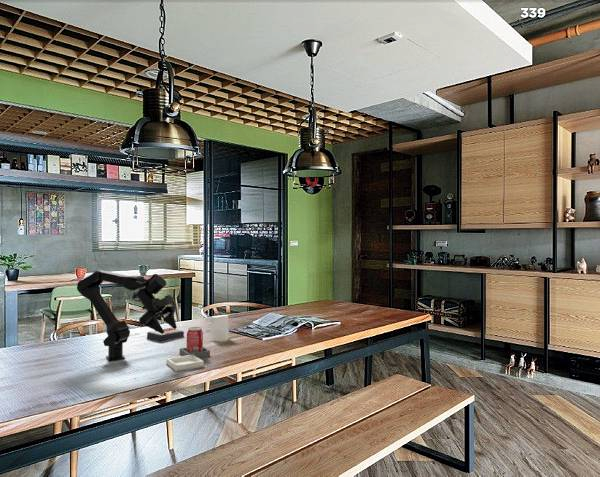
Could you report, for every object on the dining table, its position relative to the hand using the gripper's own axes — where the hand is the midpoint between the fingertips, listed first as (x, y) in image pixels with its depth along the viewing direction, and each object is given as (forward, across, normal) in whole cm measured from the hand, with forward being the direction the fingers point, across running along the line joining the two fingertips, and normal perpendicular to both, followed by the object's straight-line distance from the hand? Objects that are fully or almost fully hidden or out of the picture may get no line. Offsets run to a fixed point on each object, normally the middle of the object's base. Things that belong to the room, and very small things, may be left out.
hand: (169, 330), depth 181 cm
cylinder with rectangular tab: (+11, +45, +9) cm, 47 cm away
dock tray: (+15, +1, +4) cm, 16 cm away
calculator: (-7, +39, +30) cm, 50 cm away
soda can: (+13, +16, +7) cm, 21 cm away
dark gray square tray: (+12, +16, +7) cm, 21 cm away
